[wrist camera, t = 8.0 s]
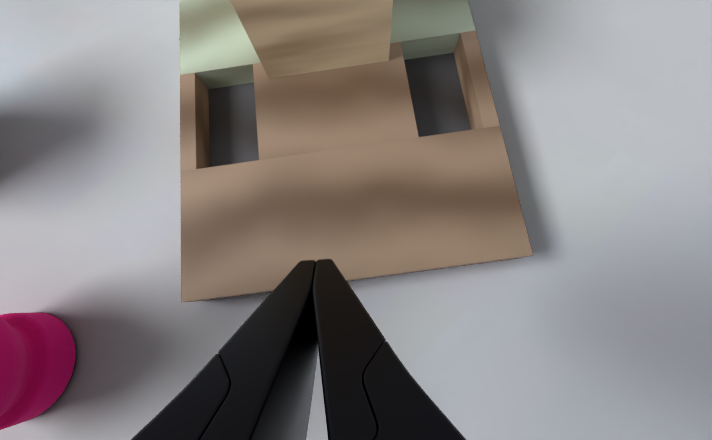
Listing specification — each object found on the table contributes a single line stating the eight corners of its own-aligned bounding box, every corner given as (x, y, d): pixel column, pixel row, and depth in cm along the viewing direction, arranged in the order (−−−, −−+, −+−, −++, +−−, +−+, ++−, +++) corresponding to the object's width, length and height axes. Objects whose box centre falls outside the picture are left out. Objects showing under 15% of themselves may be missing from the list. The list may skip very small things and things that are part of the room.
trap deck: (516, 258, 19) (533, 255, 17) (200, 300, 20) (181, 302, 18) (443, -45, 25) (449, -73, 23) (194, -6, 25) (179, -31, 23)
